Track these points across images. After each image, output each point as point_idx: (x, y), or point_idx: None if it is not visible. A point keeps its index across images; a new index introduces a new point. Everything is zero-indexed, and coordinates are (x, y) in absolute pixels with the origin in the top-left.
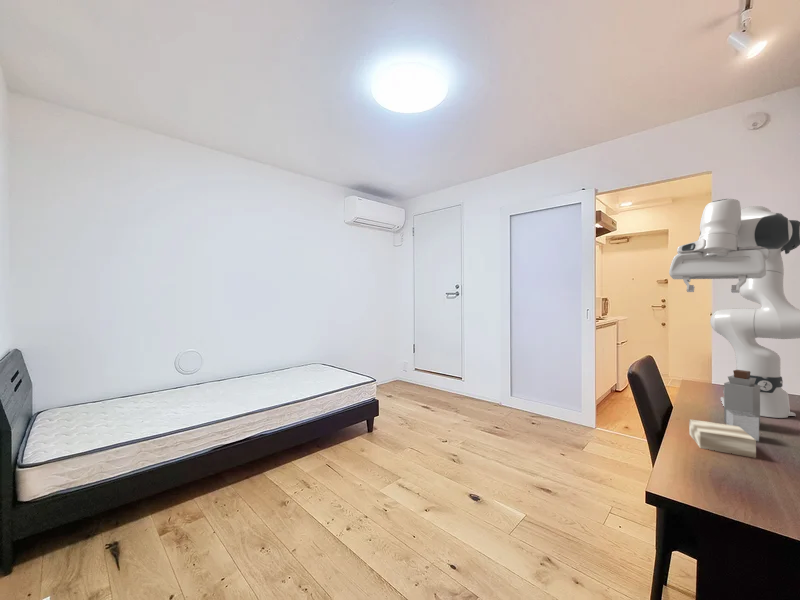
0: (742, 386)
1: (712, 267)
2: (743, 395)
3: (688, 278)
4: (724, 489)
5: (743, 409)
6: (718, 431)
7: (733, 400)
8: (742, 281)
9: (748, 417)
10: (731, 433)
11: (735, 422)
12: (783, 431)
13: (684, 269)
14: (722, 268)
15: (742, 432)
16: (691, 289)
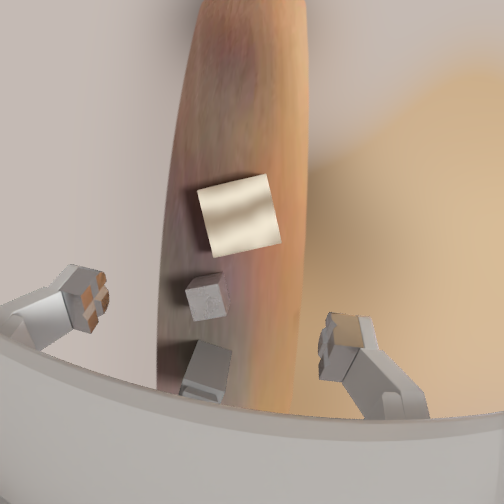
0: (197, 382)
1: (145, 482)
2: (199, 372)
3: (388, 402)
4: (243, 46)
5: (204, 358)
6: (241, 196)
7: (215, 369)
8: (19, 297)
9: (198, 286)
10: (225, 200)
11: (216, 280)
12: (165, 356)
13: (457, 479)
14: (54, 428)
15: (210, 221)
16: (340, 314)
